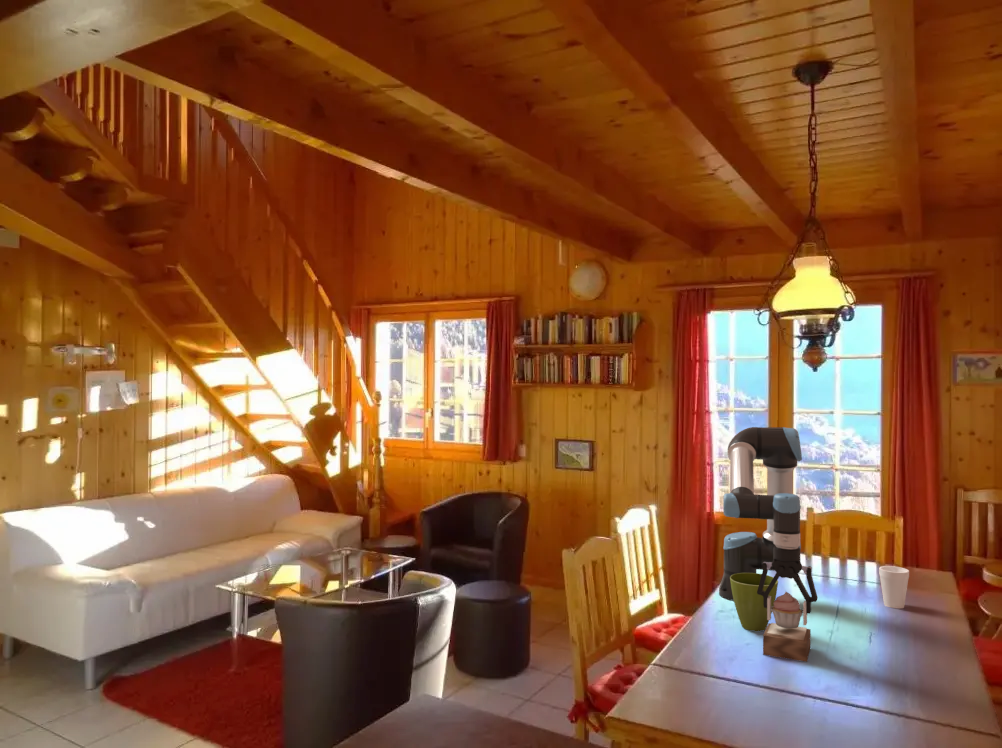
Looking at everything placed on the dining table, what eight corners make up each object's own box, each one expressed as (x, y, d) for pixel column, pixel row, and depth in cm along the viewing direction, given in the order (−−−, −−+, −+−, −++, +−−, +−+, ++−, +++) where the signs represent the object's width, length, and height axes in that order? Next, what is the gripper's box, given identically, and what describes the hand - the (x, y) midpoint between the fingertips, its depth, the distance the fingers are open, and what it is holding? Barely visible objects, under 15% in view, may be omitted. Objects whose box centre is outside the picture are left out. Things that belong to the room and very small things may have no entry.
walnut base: (763, 654, 216) (763, 633, 216) (768, 641, 227) (768, 621, 227) (806, 661, 211) (806, 640, 211) (810, 648, 221) (810, 627, 222)
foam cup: (906, 611, 256) (906, 574, 256) (877, 606, 261) (877, 570, 261) (910, 604, 263) (910, 568, 263) (882, 600, 269) (882, 564, 269)
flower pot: (782, 637, 231) (781, 586, 231) (732, 634, 234) (732, 583, 234) (774, 621, 245) (774, 574, 245) (727, 618, 248) (727, 571, 248)
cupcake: (787, 618, 225) (787, 585, 225) (810, 628, 216) (810, 594, 216) (763, 622, 222) (763, 589, 222) (785, 632, 213) (785, 597, 213)
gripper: (746, 544, 221) (746, 619, 221) (826, 553, 211) (826, 631, 211) (750, 539, 227) (750, 612, 227) (827, 547, 217) (828, 623, 217)
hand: (787, 621), depth 219 cm, fingers open, 9 cm apart
